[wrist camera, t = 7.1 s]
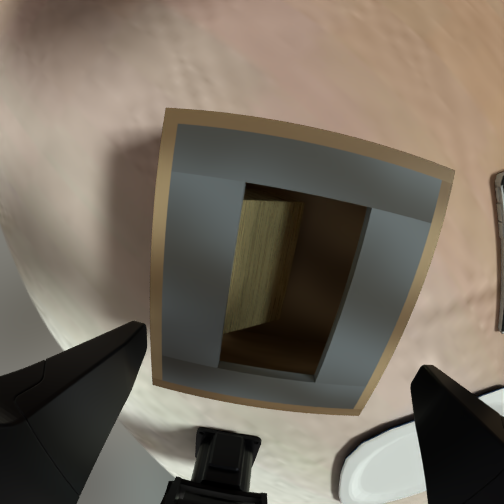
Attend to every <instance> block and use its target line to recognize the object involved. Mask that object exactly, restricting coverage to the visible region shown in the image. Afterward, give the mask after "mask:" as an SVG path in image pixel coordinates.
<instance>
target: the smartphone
mask: <svg viewBox="0 0 504 504" xmlns="http://www.w3.org/2000/svg"><path fill="white" fill-rule="evenodd" d="M495 190H496V198H497V203H496V204H497V214H498V220H499V221H498V224H499V237H500V238H501V300H500V314H499V325H498V329H499V331H500V332H501V333H502V334H503V333H504V172H502V173H499V174H497V176H496V179H495Z"/></svg>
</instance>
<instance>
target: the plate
mask: <svg viewBox="0 0 504 504" xmlns="http://www.w3.org/2000/svg"><path fill="white" fill-rule="evenodd" d="M478 398H479V399H480V400H482V401H483V402H484V403H486V404H487V405H488V406H490V407H491V408H492V409H494V410H495V411H496V412H498V413H499V414H500V415H502V416H503V417H504V387H503V388H500V389H497V390H495V391H492V392H489V393H486V394H483V395H480V396H478ZM424 491H427V490H426V483H425V476H424V470H423V464H422V458H421V453H420V447H419V442H418V437H417V432H416V427H415V420H413V421H410V422H407V423H404V424H401V425H398V426H395V427H392V428H390V429H388V430H386V431H384V432H382V433H380V434H378V435H376V436H374V437H372V438H370V439H368V440H366V441H363V442H361V443H360V444H359V445H358V446H357V447H356V448H355V449H354V450H353V451H352V452H351V453H350V454H349V455H348V456H347V457H346V459H345V462H344V464H343V467H342V470H341V472H340V481H339V494H338V495H339V499H340V502H341V503H342V504H382V503H387V502H391V501H395V500H398V499H402V498H405V497H409V496H412V495H415V494H418V493H421V492H424Z"/></svg>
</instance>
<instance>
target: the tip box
mask: <svg viewBox="0 0 504 504" xmlns="http://www.w3.org/2000/svg"><path fill="white" fill-rule="evenodd" d="M454 174H455V170H453V169H450V168H447V167H445V166H442V165H440V164H437V163H434V162H432V161H429V160H426V159H423V158H421V157H418V156H415V155H412V154H409V153H406V152H403V151H400V150H397V149H393V148H390V147H387V146H384V145H380V144H377V143H373V142H370V141H366V140H363V139H359V138H355V137H352V136H348V135H344V134H340V133H336V132H331V131H327V130H323V129H318V128H314V127H309V126H304V125H299V124H294V123H289V122H284V121H278V120H272V119H266V118H260V117H253V116H246V115H239V114H231V113H223V112H214V111H204V110H192V109H178V108H166V110H165V116H164V123H163V129H162V136H161V144H160V151H159V159H158V168H157V177H156V187H155V198H154V210H153V225H152V242H151V266H150V340H151V365H152V381H153V385H156V386H159V387H163V388H167V389H170V390H174V391H178V392H182V393H186V394H191V395H195V396H200V397H204V398H209V399H214V400H219V401H224V402H229V403H235V404H241V405H247V406H253V407H260V408H267V409H274V410H283V411H292V412H302V413H313V414H328V415H350V416H359V415H360V413H361V411H362V410H363V408H364V406H365V405H366V403H367V401H368V400H369V398H370V396H371V394H372V393H373V391H374V389H375V387H376V386H377V384H378V382H379V380H380V378H381V376H382V375H383V373H384V371H385V369H386V367H387V365H388V363H389V361H390V359H391V357H392V355H393V353H394V351H395V349H396V347H397V345H398V343H399V340H400V338H401V336H402V334H403V332H404V330H405V327H406V325H407V323H408V321H409V318H410V316H411V313H412V311H413V309H414V306H415V304H416V301H417V299H418V296H419V294H420V291H421V288H422V286H423V283H424V280H425V278H426V275H427V272H428V269H429V266H430V263H431V260H432V257H433V254H434V251H435V248H436V245H437V242H438V238H439V235H440V232H441V228H442V224H443V221H444V217H445V213H446V209H447V205H448V201H449V197H450V193H451V188H452V184H453V179H454ZM245 189H262V190H271V191H274V192H277V193H280V194H283V195H285V196H288V197H291V198H294V199H296V200H299V201H302V202H305V206H304V211H303V216H302V220H301V225H300V230H299V235H298V240H297V244H296V249H295V254H294V258H293V263H292V267H291V272H290V276H289V280H288V285H287V289H286V293H285V298H284V302H283V306H282V310H281V315H280V319H278V320H275V321H271V322H267V323H263V324H260V325H256V326H252V327H248V328H244V329H240V330H236V331H232V332H228V333H223V330H224V323H225V316H226V309H227V303H228V296H229V289H230V282H231V275H232V269H233V262H234V256H235V249H236V243H237V236H238V230H239V223H240V217H241V211H242V204H243V198H244V192H245Z"/></svg>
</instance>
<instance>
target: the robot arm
mask: <svg viewBox="0 0 504 504" xmlns="http://www.w3.org/2000/svg"><path fill="white" fill-rule="evenodd" d="M146 350H147V328H146V325H145V324H144V323H141V322H137V321H131V322H129V323H127V324H125V325H122V326H120V327H118V328H116V329H113V330H111V331H109V332H107V333H104V334H102V335H100V336H98V337H95V338H93V339H91V340H89V341H86V342H84V343H82V344H79V345H77V346H75V347H73V348H70V349H68V350H66V351H63V352H61V353H59V354H57V355H54V356H52V357H50V358H47V359H46V361H45V360H43V361H41V362H38V363H36V364H33V365H31V366H28V367H26V368H23V369H20V370H18V371H15V372H12V373H9V374H6V375H3V376H0V504H77V501H78V499H79V496H80V494H81V492H82V490H83V488H84V486H85V484H86V481H87V479H88V477H89V475H90V473H91V470H92V469H93V466H94V464H95V462H96V460H97V458H98V456H99V454H100V452H101V450H102V448H103V446H104V444H105V442H106V440H107V438H108V436H109V434H110V431H111V429H112V427H113V426H114V424H115V422H116V420H117V418H118V416H119V414H120V412H121V410H122V408H123V406H124V404H125V402H126V400H127V398H128V396H129V394H130V392H131V390H132V387H133V385H134V382H135V380H136V377H137V374H138V371H139V369H140V366H141V364H142V361H143V358H144V356H145V353H146ZM410 389H411V396H412V404H413V412H414V420H415V427H416V432H417V437H418V442H419V447H420V453H421V458H422V464H423V470H424V476H425V483H426V490H427V498H428V504H504V417H503V416H502V415H500V414H499V413H498V412H496V411H495V410H494V409H492V408H491V407H490V406H488V405H487V404H486V403H484V402H483V401H482V400H480V399H479V398H478V397H476V396H475V395H473V394H472V393H471V392H469V391H468V390H467V389H465V388H464V387H463V386H461V385H460V384H458V383H457V382H456V381H454V380H453V379H452V378H450V377H449V376H447V375H446V374H445V373H443V372H442V371H441V370H439V369H438V368H436V367H435V366H434V365H422V366H421V367H420V369H419V371H418V372H417V374H416V376H415V377H414V379H413V381H412V383H411V388H410ZM260 445H261V439H260V438H258V437H251V436H245V435H238V434H232V433H227V432H221V431H216V430H211V429H206V428H198V429H197V436H196V453H195V457H196V462H195V466H194V470H193V474H192V478H191V481H189V480H185V479H182V478H181V477H177V476H176V478H175V481H169V483H168V486H167V489H166V492H165V495H164V497H163V500H162V502H161V504H267V493H254V492H249V488H250V478H251V468H252V466H253V463H254V461H255V458H256V456H257V453H258V450H259V448H260Z"/></svg>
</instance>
